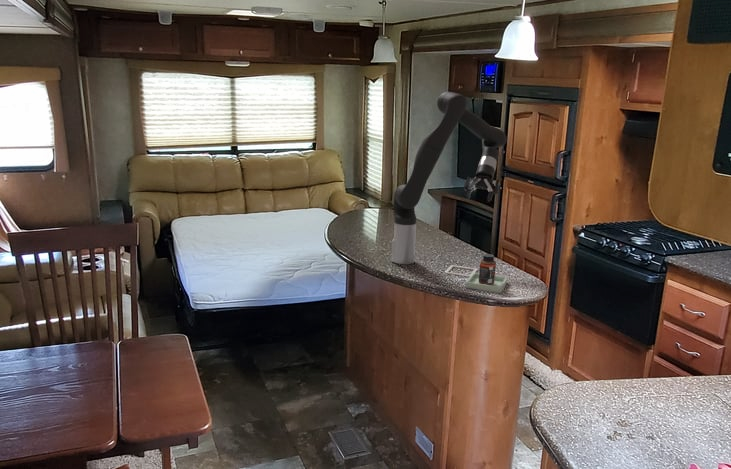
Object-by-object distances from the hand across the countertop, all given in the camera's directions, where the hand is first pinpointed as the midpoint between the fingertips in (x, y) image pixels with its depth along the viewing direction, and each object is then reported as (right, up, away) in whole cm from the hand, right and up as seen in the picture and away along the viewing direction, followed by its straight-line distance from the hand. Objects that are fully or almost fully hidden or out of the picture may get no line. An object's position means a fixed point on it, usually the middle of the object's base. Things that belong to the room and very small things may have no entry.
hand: (478, 199), depth 239 cm
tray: (-1, -34, -19) cm, 39 cm away
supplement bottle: (-1, -34, -19) cm, 39 cm away
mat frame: (-8, -30, -3) cm, 31 cm away
